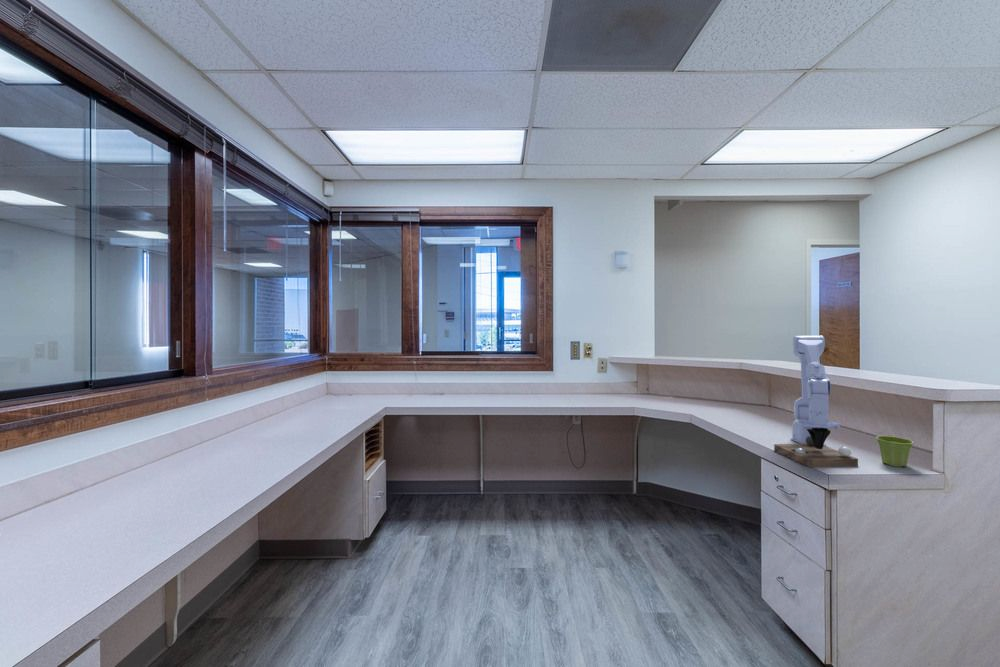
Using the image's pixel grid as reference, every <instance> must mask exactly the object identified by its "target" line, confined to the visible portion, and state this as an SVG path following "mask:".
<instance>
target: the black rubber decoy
mask: <svg viewBox="0 0 1000 667" xmlns="http://www.w3.org/2000/svg"><path fill="white" fill-rule="evenodd" d="M806 443H807V444H808V445H811V446H813V445H814V443H813V440H812V438H811V436H808V437H807V438H806Z"/></svg>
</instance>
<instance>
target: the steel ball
mask: <svg viewBox="0 0 1000 667" xmlns="http://www.w3.org/2000/svg"><path fill="white" fill-rule="evenodd" d="M795 452H796V453H806V451H805V450H804V449H802V448H797V449H796V450H795Z"/></svg>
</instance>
